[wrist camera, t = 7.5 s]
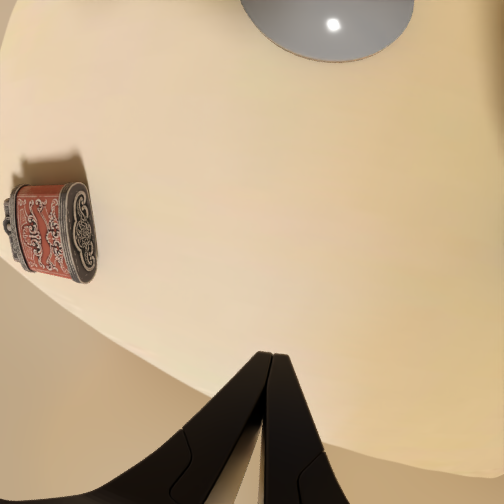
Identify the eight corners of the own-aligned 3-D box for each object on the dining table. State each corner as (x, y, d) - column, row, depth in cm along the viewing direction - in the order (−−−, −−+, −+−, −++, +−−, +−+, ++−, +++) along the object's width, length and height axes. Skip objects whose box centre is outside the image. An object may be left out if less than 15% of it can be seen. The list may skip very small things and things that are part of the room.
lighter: (90, 178, 22) (16, 181, 23) (61, 187, 19) (-10, 190, 20) (101, 273, 25) (29, 260, 26) (78, 291, 22) (6, 273, 23)
